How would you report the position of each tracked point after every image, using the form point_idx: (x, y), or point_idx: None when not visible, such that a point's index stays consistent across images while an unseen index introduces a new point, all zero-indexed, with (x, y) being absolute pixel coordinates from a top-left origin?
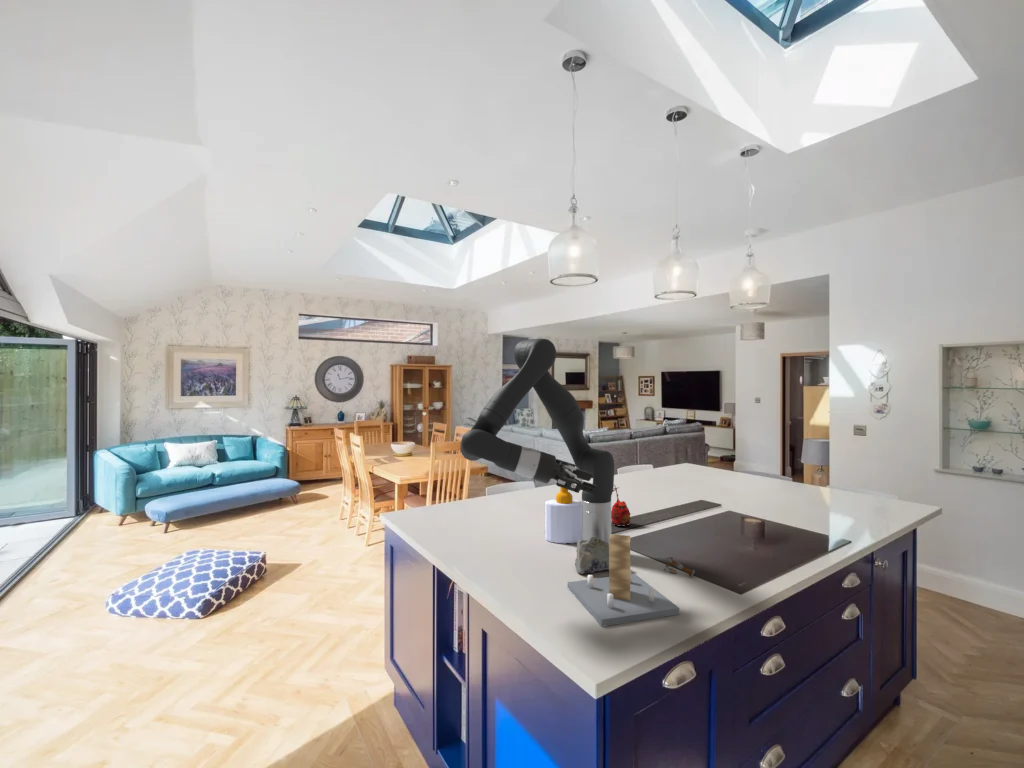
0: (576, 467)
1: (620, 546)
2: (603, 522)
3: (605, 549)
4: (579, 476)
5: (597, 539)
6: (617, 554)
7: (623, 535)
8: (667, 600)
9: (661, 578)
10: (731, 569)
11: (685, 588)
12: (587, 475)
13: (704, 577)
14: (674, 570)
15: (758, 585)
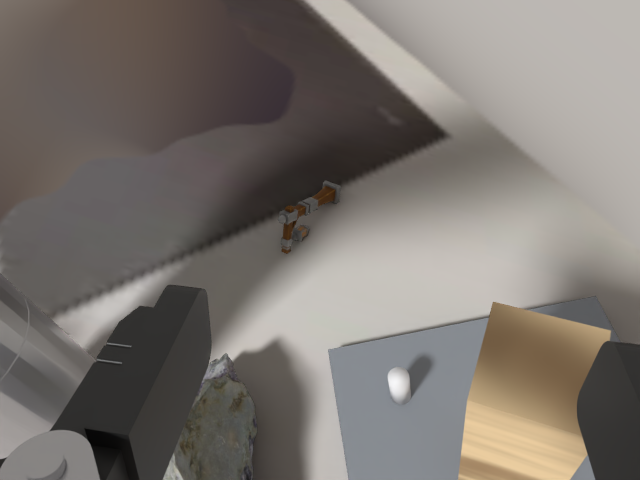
0: (55, 471)
1: None
2: (56, 353)
3: (215, 413)
4: (158, 465)
5: (184, 434)
6: None
7: (488, 332)
8: (544, 313)
9: (335, 277)
10: (304, 109)
11: (410, 237)
12: (191, 345)
13: (343, 174)
14: (301, 227)
15: (400, 92)
